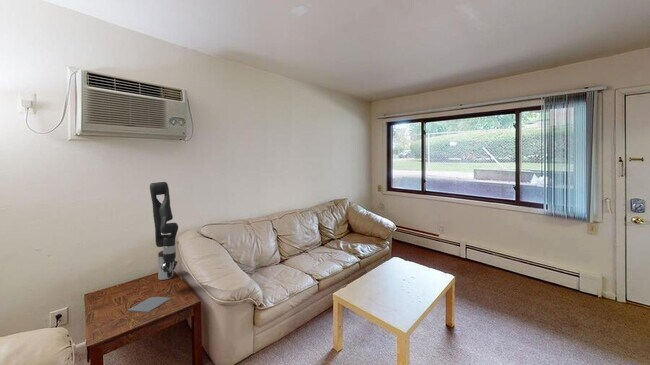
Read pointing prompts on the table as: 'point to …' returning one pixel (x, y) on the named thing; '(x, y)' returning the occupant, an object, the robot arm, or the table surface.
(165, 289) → the table surface
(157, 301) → the mat
